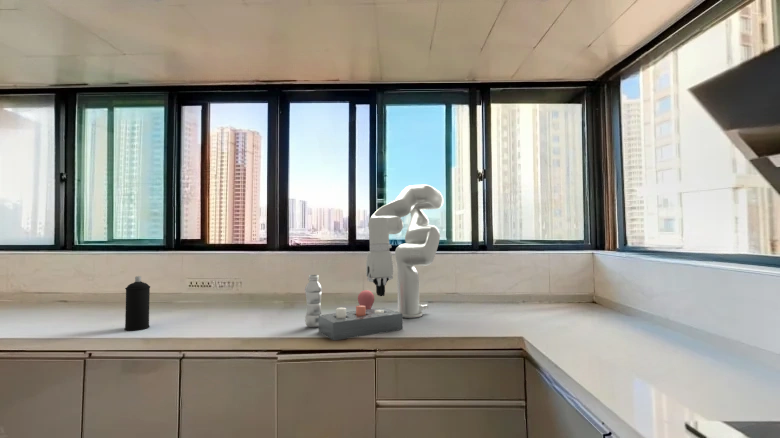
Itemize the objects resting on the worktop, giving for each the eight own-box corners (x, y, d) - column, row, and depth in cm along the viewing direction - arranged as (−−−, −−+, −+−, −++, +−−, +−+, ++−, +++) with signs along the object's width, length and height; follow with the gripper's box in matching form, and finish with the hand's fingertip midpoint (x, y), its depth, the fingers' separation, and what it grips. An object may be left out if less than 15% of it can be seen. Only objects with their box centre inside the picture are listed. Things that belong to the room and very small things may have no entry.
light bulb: (354, 319, 162) (354, 291, 162) (362, 316, 169) (362, 288, 169) (370, 321, 159) (370, 291, 160) (377, 317, 166) (377, 289, 166)
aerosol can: (154, 327, 151) (155, 275, 151) (132, 332, 143) (134, 278, 144) (141, 325, 154) (142, 275, 155) (119, 329, 147) (120, 277, 147)
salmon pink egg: (363, 320, 146) (362, 305, 146) (367, 322, 143) (367, 306, 143) (354, 322, 144) (354, 306, 145) (358, 324, 141) (358, 307, 142)
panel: (383, 322, 157) (383, 307, 157) (402, 329, 145) (402, 313, 145) (318, 331, 142) (318, 315, 143) (333, 340, 130) (333, 322, 131)
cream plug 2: (381, 324, 150) (381, 309, 150) (385, 326, 147) (385, 311, 147) (373, 326, 148) (373, 310, 149) (377, 328, 145) (377, 312, 146)
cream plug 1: (343, 323, 142) (343, 307, 142) (347, 325, 139) (347, 308, 139) (334, 324, 140) (334, 308, 141) (338, 326, 137) (338, 309, 137)
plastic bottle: (318, 329, 146) (318, 276, 147) (302, 328, 147) (302, 276, 148) (324, 325, 152) (325, 274, 153) (308, 324, 154) (309, 274, 154)
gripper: (391, 246, 156) (392, 291, 156) (357, 248, 148) (359, 296, 149) (400, 247, 150) (402, 294, 150) (366, 250, 142) (368, 299, 142)
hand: (380, 295), depth 149 cm, fingers closed
